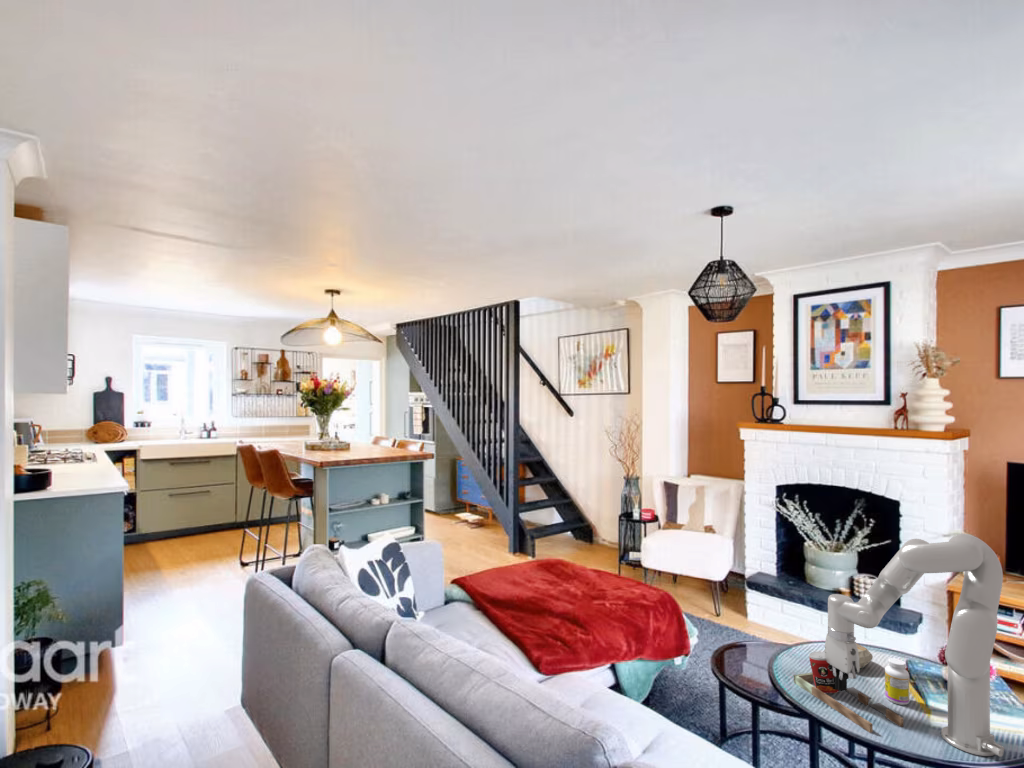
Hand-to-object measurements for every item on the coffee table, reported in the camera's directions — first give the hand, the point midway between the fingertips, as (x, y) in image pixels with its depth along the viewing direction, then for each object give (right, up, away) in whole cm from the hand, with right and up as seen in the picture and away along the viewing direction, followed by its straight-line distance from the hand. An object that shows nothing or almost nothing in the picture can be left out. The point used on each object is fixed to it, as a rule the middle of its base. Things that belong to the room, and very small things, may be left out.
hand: (840, 689), depth 182 cm
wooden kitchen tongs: (+3, -4, -1) cm, 5 cm away
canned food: (-1, -3, +5) cm, 6 cm away
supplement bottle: (+19, -4, 0) cm, 19 cm away
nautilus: (+16, -5, +25) cm, 30 cm away
